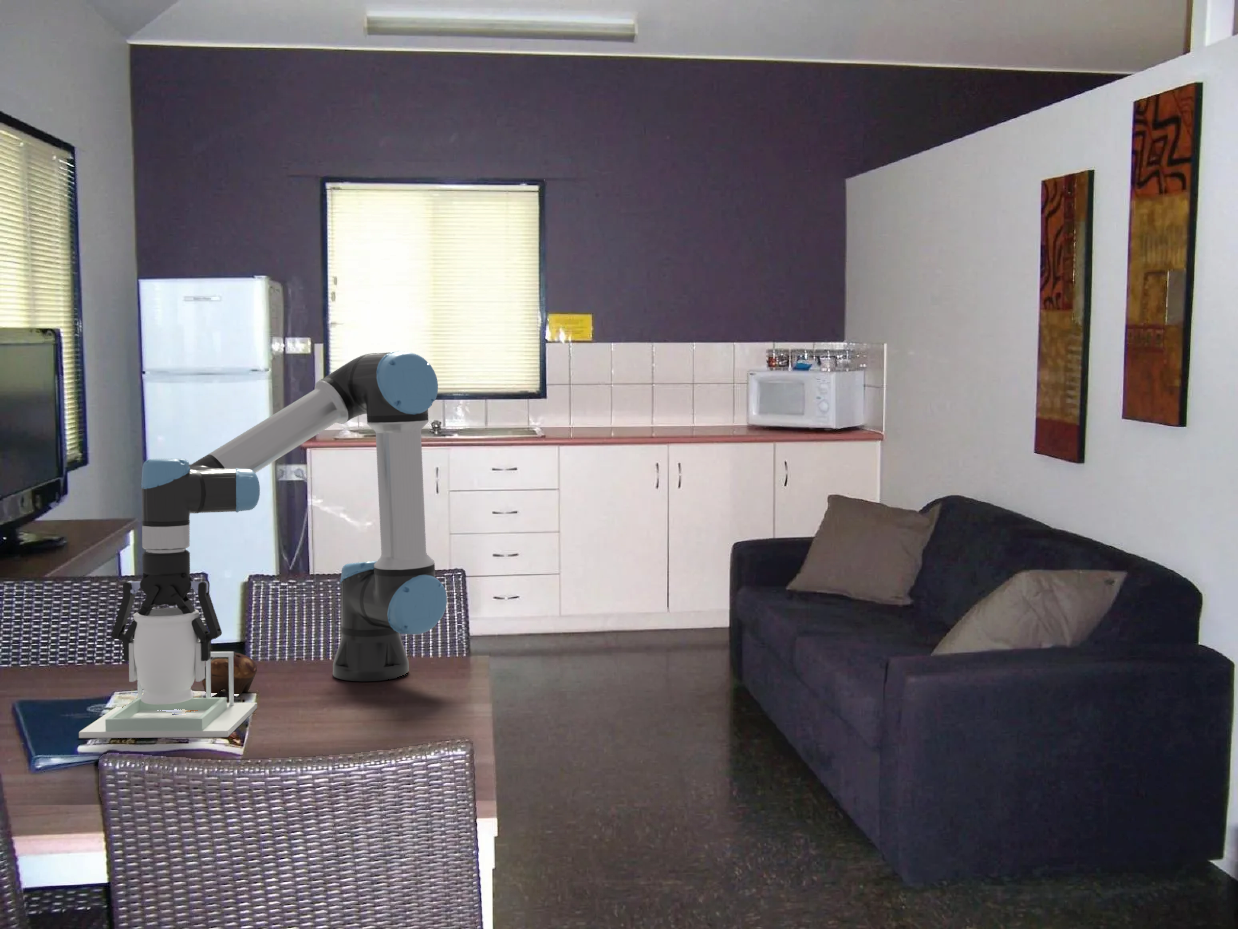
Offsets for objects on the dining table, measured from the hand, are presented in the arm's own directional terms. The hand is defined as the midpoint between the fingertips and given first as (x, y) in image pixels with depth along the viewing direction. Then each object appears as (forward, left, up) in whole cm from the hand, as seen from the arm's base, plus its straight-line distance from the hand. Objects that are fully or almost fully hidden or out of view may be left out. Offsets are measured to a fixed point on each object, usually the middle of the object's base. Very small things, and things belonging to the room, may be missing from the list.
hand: (167, 680), depth 206 cm
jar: (0, 0, -4) cm, 4 cm away
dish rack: (0, -2, -8) cm, 8 cm away
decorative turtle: (-4, -23, -8) cm, 25 cm away
